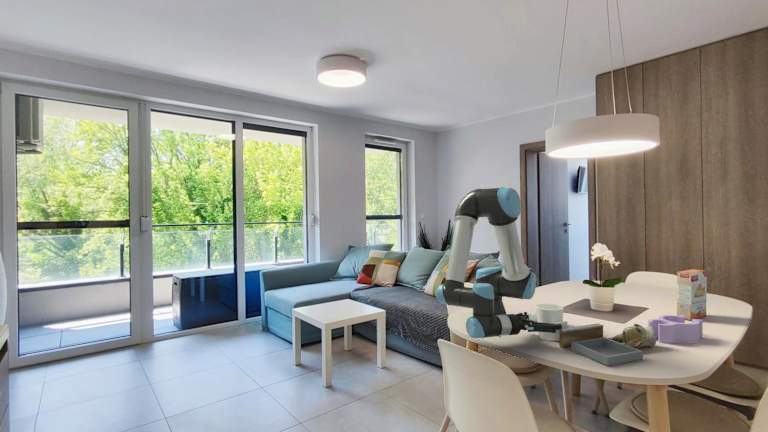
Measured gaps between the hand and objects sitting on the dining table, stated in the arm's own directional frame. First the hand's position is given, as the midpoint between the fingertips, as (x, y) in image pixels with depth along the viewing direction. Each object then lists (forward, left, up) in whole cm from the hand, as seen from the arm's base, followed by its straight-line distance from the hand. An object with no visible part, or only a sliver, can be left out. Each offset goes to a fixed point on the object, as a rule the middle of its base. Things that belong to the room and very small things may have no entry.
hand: (554, 320), depth 150 cm
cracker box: (0, +75, -7) cm, 76 cm away
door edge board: (+10, +3, -7) cm, 13 cm away
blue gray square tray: (+21, +3, -7) cm, 22 cm away
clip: (+16, +41, -7) cm, 45 cm away
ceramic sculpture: (+18, +19, -7) cm, 28 cm away
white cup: (0, -2, -7) cm, 7 cm away
